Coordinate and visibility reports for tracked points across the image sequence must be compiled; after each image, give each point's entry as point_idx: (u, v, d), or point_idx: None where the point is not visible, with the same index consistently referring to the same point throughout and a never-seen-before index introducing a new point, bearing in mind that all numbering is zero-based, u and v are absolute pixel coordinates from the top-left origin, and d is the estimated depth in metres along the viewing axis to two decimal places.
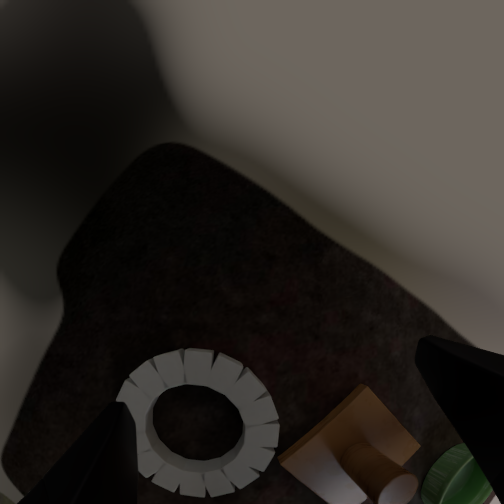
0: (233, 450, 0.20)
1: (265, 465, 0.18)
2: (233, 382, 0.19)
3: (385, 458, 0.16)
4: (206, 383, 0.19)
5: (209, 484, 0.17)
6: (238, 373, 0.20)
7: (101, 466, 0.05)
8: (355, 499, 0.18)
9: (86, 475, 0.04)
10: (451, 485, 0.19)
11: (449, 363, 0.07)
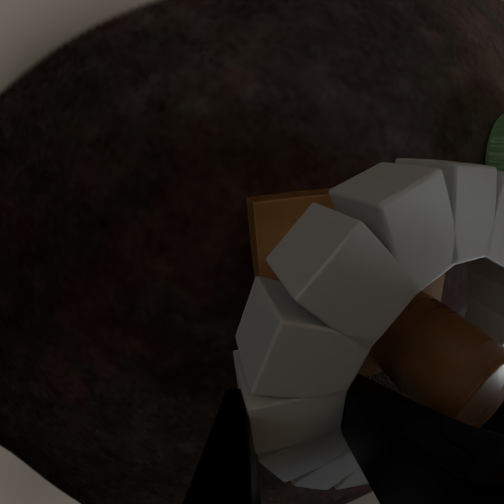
0: (478, 304, 0.09)
1: None
2: (451, 223, 0.06)
3: (412, 323, 0.08)
4: (410, 293, 0.06)
5: None
6: (445, 193, 0.05)
7: (251, 456, 0.05)
8: None
9: (245, 468, 0.04)
10: None
11: (351, 403, 0.06)
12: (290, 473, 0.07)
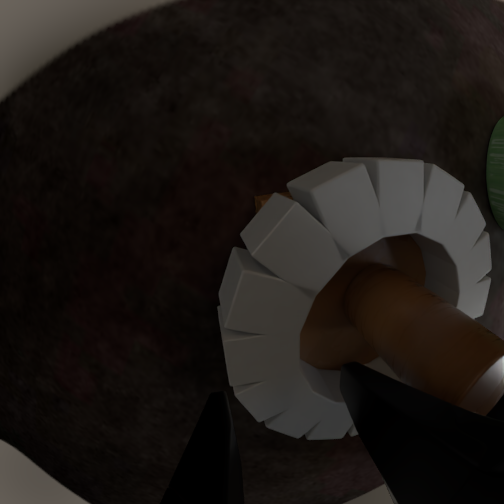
0: (432, 280, 0.12)
1: (489, 258, 0.10)
2: (376, 204, 0.08)
3: (415, 318, 0.08)
4: (343, 256, 0.09)
5: None
6: (368, 182, 0.08)
7: (230, 459, 0.05)
8: None
9: (223, 472, 0.04)
10: None
11: (366, 398, 0.06)
12: (262, 412, 0.10)
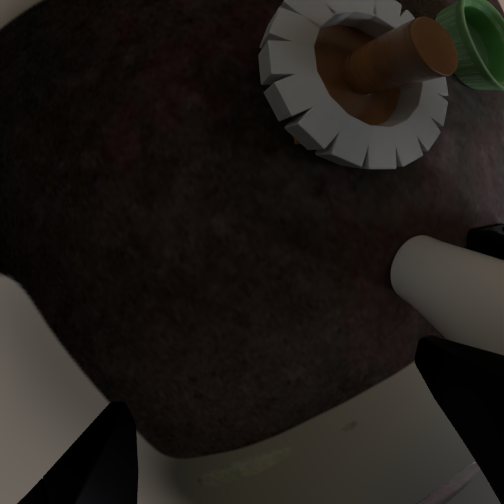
0: None
1: None
2: None
3: (381, 35, 0.11)
4: (332, 12, 0.12)
5: (431, 112, 0.15)
6: None
7: (101, 466, 0.05)
8: None
9: (86, 475, 0.04)
10: None
11: (449, 363, 0.07)
12: (294, 103, 0.13)
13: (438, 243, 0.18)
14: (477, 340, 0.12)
